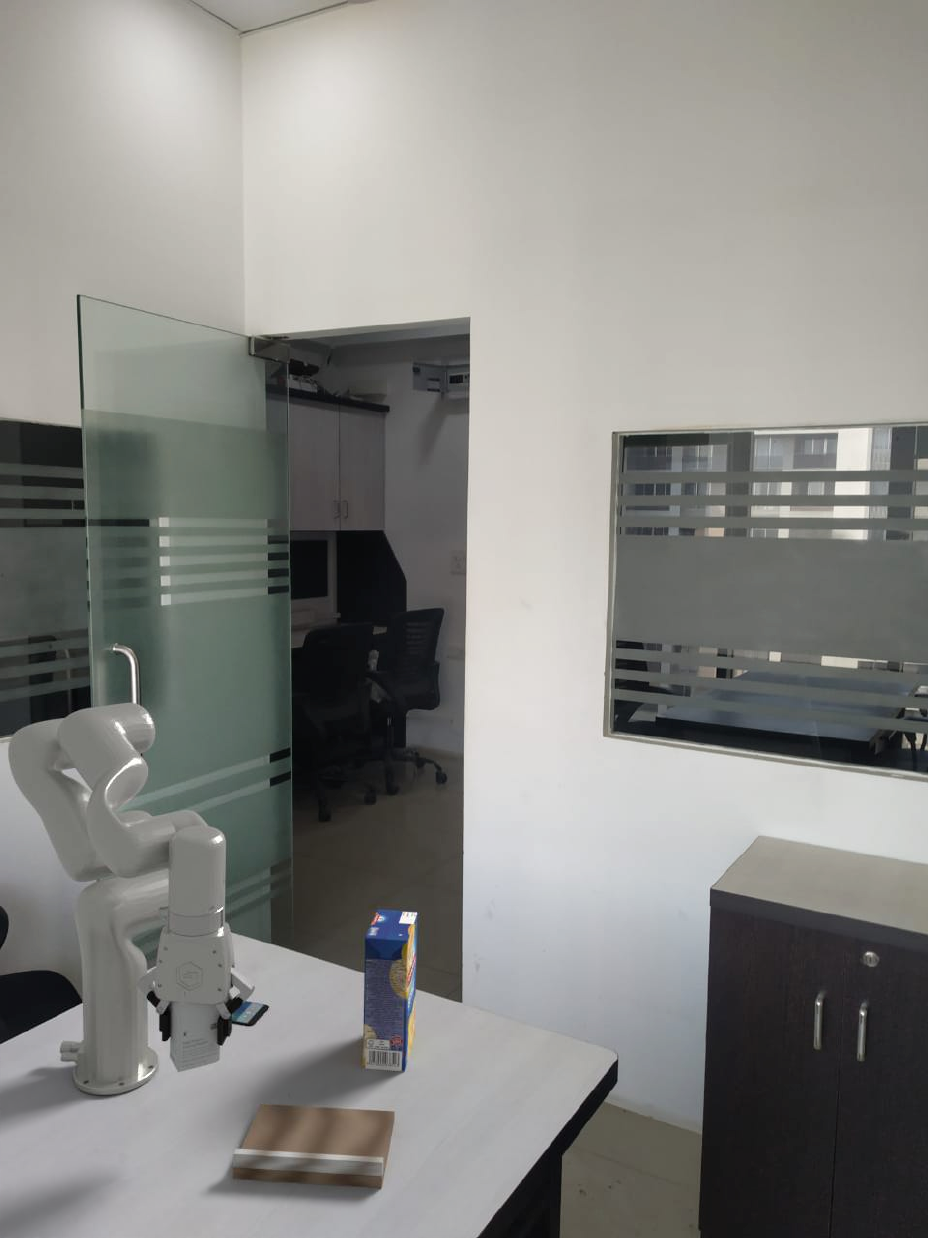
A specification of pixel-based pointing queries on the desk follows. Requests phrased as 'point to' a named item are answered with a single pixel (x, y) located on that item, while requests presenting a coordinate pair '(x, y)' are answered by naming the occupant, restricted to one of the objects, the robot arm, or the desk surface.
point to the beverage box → (389, 990)
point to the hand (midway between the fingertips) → (195, 1037)
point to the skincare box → (193, 1034)
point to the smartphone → (249, 1013)
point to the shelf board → (316, 1146)
